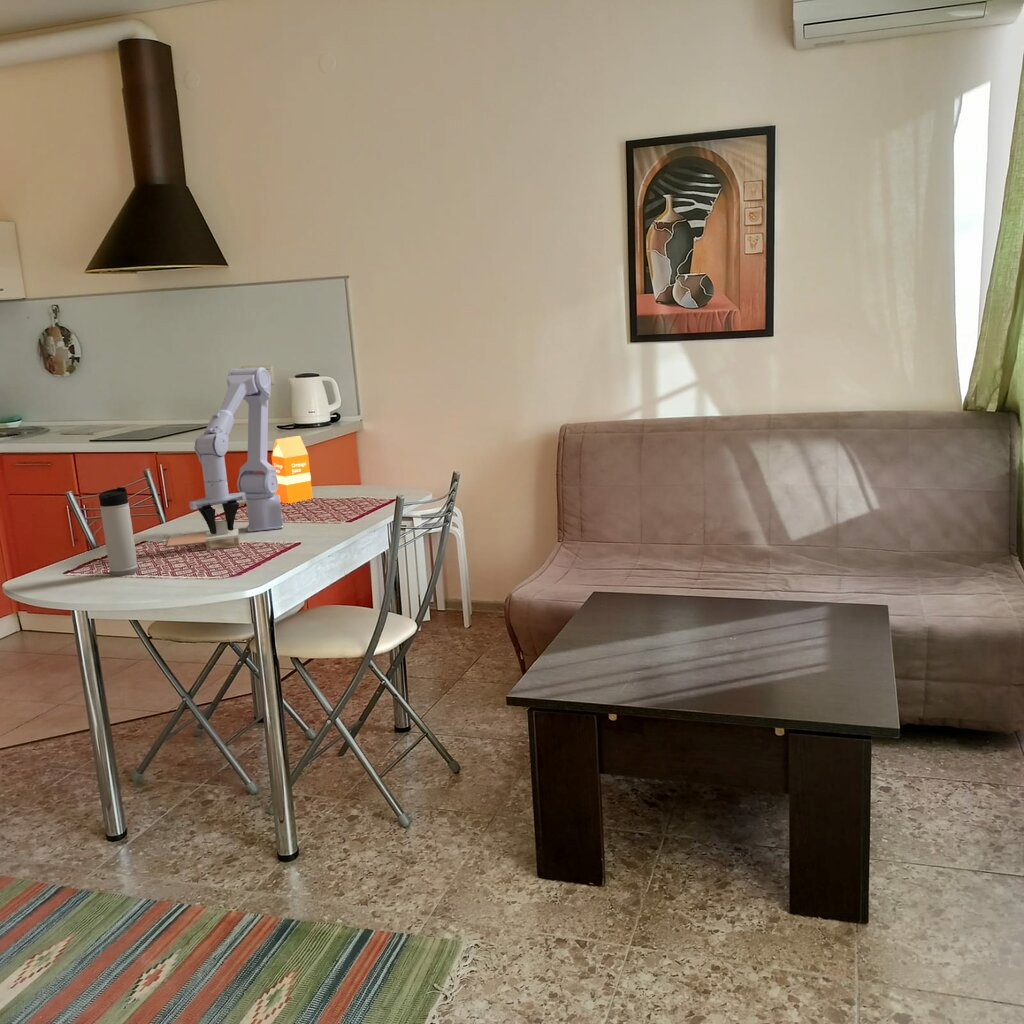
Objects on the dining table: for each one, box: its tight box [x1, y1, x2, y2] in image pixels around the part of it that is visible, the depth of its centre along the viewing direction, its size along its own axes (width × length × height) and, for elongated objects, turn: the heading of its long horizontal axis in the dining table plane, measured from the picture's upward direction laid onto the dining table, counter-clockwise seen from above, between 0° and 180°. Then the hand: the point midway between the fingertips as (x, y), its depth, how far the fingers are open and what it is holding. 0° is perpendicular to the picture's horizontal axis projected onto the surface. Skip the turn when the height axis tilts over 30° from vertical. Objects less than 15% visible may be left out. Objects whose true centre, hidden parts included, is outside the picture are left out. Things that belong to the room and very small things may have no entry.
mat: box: [165, 532, 207, 548], centre depth 261 cm, size 11×11×1 cm
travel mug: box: [98, 486, 139, 577], centre depth 230 cm, size 6×7×20 cm
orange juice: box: [271, 435, 313, 504], centre depth 308 cm, size 8×9×20 cm
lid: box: [205, 519, 240, 541], centre depth 253 cm, size 8×8×5 cm
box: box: [205, 532, 240, 551], centre depth 254 cm, size 8×8×2 cm
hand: (221, 531), depth 253 cm, fingers closed on lid, 4 cm apart
